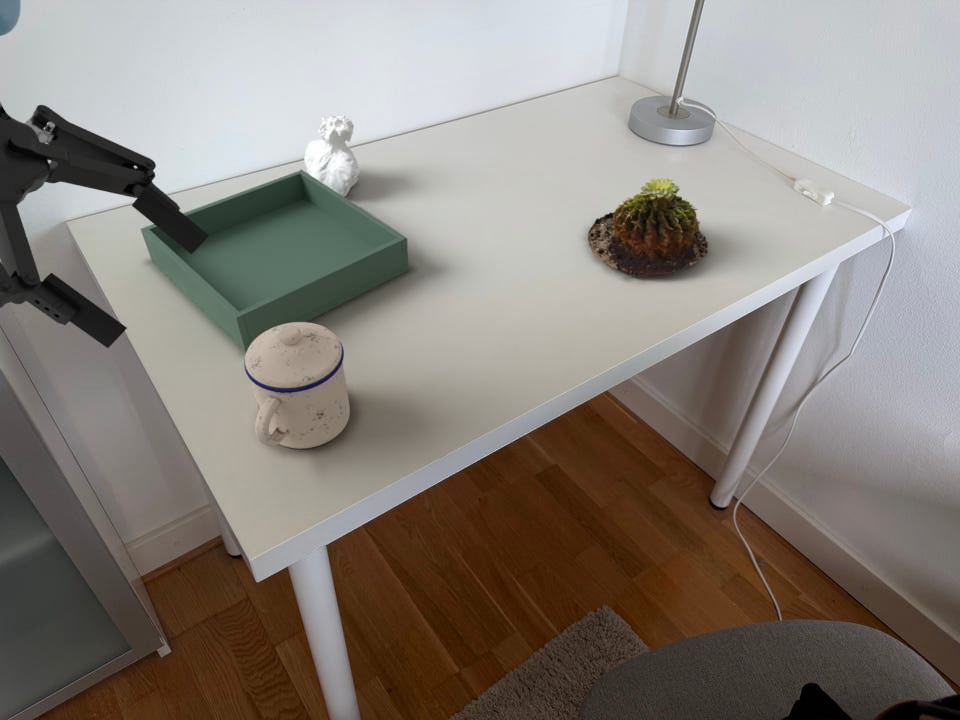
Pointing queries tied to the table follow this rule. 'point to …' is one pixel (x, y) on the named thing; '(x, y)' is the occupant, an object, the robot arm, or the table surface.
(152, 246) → the tray
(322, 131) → the bust
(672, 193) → the cactus
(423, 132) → the table surface
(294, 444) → the teacup with lid
